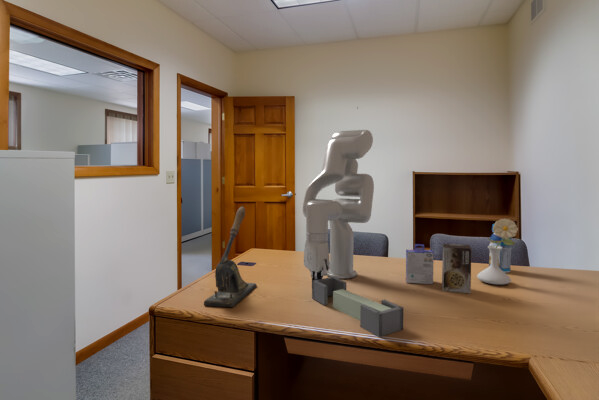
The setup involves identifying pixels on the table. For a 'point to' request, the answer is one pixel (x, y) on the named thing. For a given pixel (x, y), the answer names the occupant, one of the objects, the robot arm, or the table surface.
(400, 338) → the table surface
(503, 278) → the flower in vase
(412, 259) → the ink cartridge box
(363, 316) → the cap fixed
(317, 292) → the cap sliding
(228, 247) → the embossing press
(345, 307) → the pale green long block
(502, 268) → the beverage bottle
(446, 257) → the coffee box
